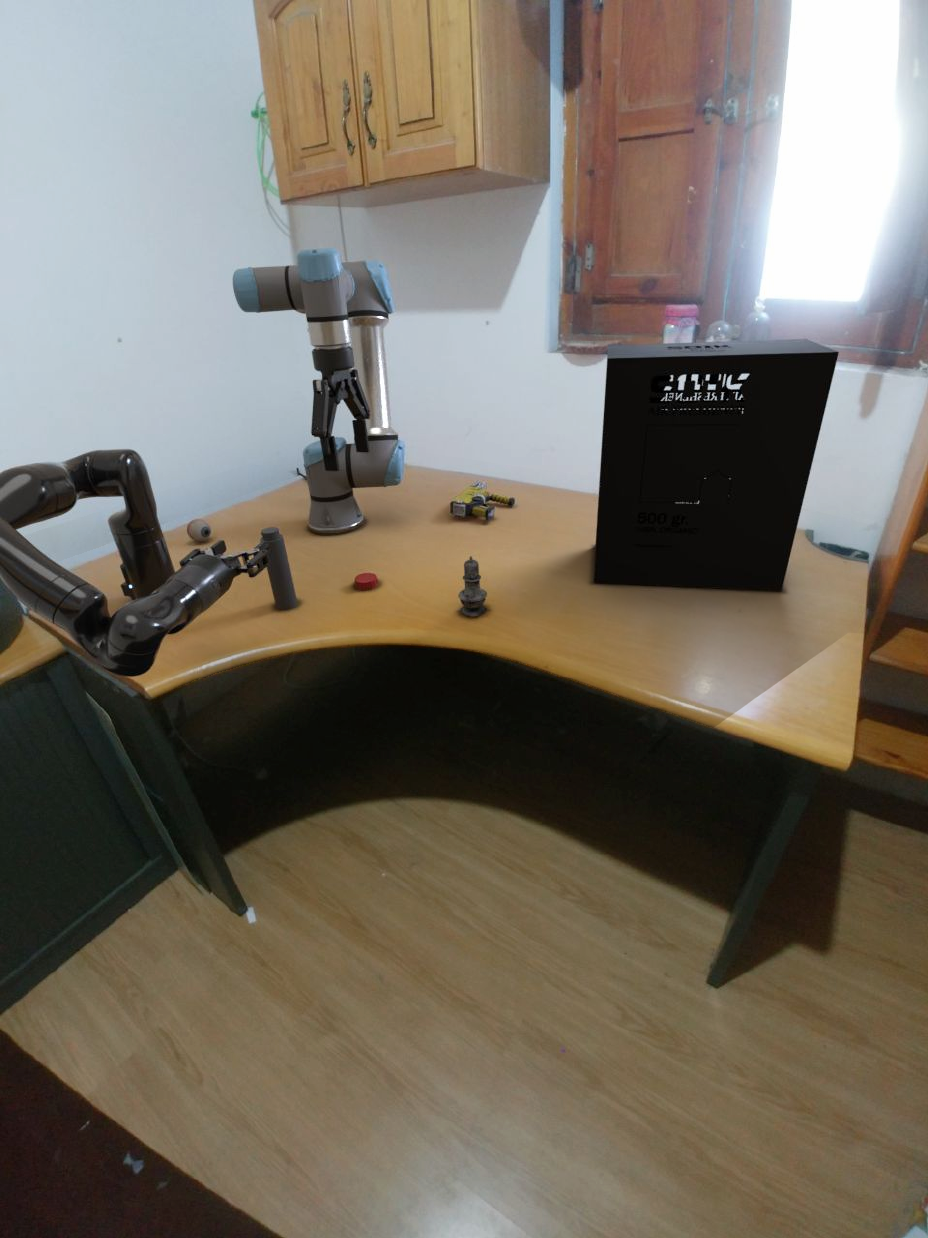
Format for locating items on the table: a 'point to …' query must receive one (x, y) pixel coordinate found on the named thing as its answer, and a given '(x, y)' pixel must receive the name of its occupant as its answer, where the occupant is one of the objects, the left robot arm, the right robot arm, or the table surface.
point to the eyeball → (199, 530)
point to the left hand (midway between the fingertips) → (244, 545)
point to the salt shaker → (472, 590)
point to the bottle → (279, 569)
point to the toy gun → (477, 502)
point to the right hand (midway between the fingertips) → (348, 460)
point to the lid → (366, 581)
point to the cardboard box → (707, 461)
